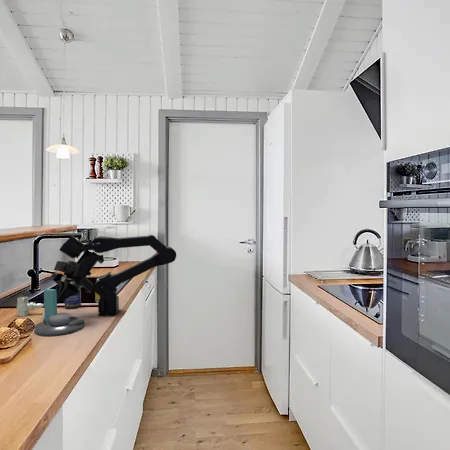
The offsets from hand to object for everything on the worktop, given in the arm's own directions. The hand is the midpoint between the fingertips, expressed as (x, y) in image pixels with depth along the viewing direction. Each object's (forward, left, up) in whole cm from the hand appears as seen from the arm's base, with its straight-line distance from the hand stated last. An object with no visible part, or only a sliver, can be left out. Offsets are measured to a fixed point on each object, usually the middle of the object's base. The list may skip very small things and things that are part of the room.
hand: (56, 302), depth 121 cm
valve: (+14, -13, -8) cm, 21 cm away
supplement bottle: (-5, -30, -8) cm, 32 cm away
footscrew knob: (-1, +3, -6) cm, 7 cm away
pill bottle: (+4, -22, -8) cm, 24 cm away
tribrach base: (-3, +4, -7) cm, 9 cm away
